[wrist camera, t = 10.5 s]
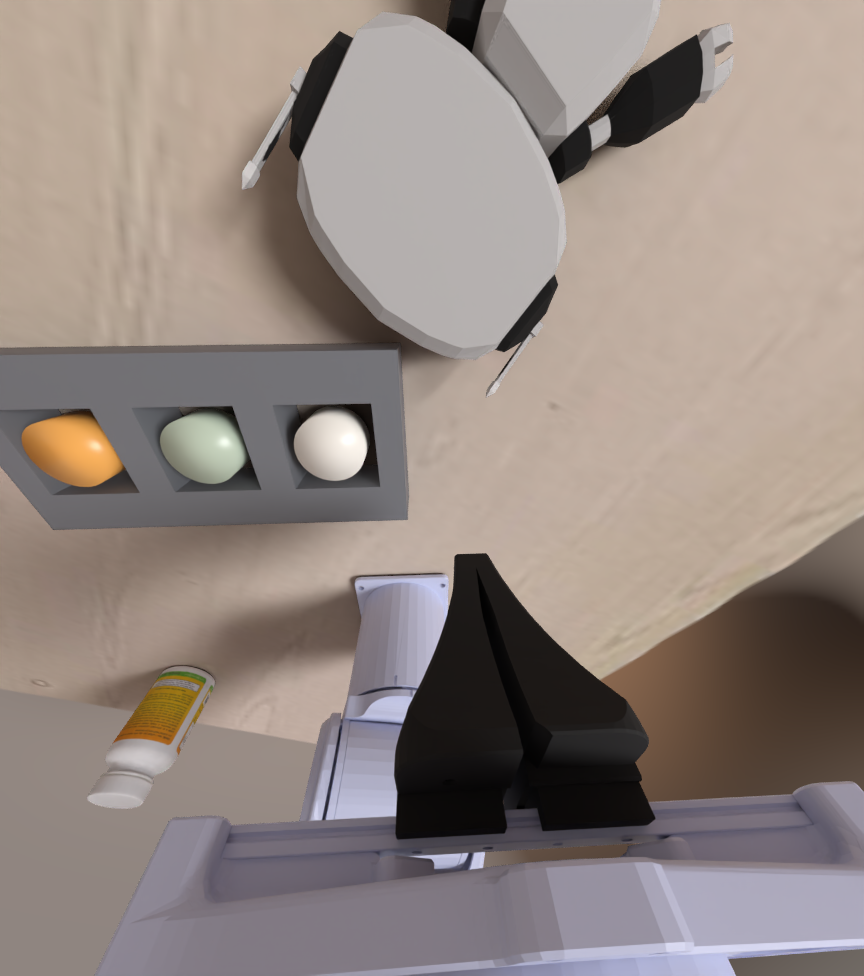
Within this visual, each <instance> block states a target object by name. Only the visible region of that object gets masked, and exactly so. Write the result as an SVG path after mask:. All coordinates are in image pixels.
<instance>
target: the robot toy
mask: <svg viewBox="0 0 864 976" xmlns="http://www.w3.org/2000/svg"><path fill="white" fill-rule="evenodd" d="M660 3H661V0H451V5H450V11H449V17H448V23H447V29H446V33H447V34H446V33H445V32H443V31H442V30H440V29H439V28H438V27H436V26H435V25H433V24H431V23H429V22H427V21H425V20H423V19H421V18H419V17H417V16H411V15H403V14H396V13H389V12H381V13H380V14H379V15H377V16H376V17H375V18H373V19H372V20H370V21H369V22H368V23H366V24H365V25H364V26H362V27H361V28H360V29H358V30H357V32H356V34H355V36H354V38H352V37H350V36H348V35H346V34H344V33H342V32H340V31H339V32H338V33H337V34H336V35H335V37H334V38H333V39H332V40H331V41H330V42H329V44H328V45H327V46H326V47H325V48H324V49H323V50H322V51H321V52H320V53H319V54H318V55H317V56H316V57H315V58H313V60H312V62H311V65H310V67H309V70H308V72H307V73H306V72H305V71H304V70H303V69H302V68H301V67H299V69H298V70H297V72H296V74H295V76H294V77H293V79H292V81H291V83H290V85H291V90H292V93H291V94H290V96H289V98H288V100H287V101H286V103H285V105H284V106H283V108H282V110H281V112H280V113H279V115H278V117H277V119H276V120H275V122H274V124H273V125H272V127H271V129H270V131H269V132H268V134H267V136H266V138H265V139H264V141H263V143H262V144H261V146H260V148H259V150H258V151H257V153H256V155H255V156H254V158H253V160H252V162H251V161H250V160H249V162H248V164H247V165H246V167H245V169H244V171H243V172H242V190H244V189H248V188H252V187H254V185H255V183H256V182H257V180H258V178H259V176H260V173H259V172H260V170H261V168H262V167H263V165H264V163H265V162H266V160H267V158H268V156H269V155H270V153H271V151H272V150H273V148H274V146H275V144H276V143H277V141H278V139H279V138H280V136H281V134H282V132H283V131H284V129H285V127H286V126H287V124H288V122H289V120H290V119H291V117H292V124H291V135H290V146H289V147H290V149H291V150H292V152H293V154H294V155H295V157H296V158H297V160H298V161H299V164H298V183H297V200H298V203H299V205H300V208H301V211H302V213H303V216H304V219H305V221H306V224H307V227H308V229H309V232H310V234H311V236H312V237H313V239H314V241H315V243H316V244H317V246H318V248H319V249H320V251H321V252H322V254H323V255H324V257H325V258H326V259H327V261H328V262H329V263H330V265H331V266H332V268H333V269H334V270H335V272H336V273H337V275H338V276H339V277H340V278H341V279H342V281H343V282H344V283H345V284H346V285H347V286H348V287H349V288H350V289H351V291H352V292H353V293H354V294H355V295H356V296H357V297H358V298H359V300H360V301H361V302H362V303H363V304H364V305H365V306H366V307H367V308H368V310H369V311H370V312H371V313H372V314H373V315H374V316H375V317H376V319H377V320H379V321H380V322H382V323H384V324H385V325H387V326H389V327H390V328H392V329H393V330H395V331H397V332H398V333H400V334H402V335H403V336H405V337H407V338H408V339H410V340H412V341H413V342H415V343H417V344H418V345H420V346H422V347H424V348H426V349H429V350H431V351H433V352H436V353H438V354H440V355H443V356H446V357H450V358H453V359H474V360H476V359H478V358H480V357H482V356H484V355H485V354H487V353H489V352H491V351H493V350H494V349H495V350H498V351H502V352H505V351H507V350H509V349H510V348H512V347H514V346H515V345H517V344H519V343H520V342H521V344H520V345H519V346H518V348H517V349H516V351H515V352H514V354H513V355H512V356H511V358H510V359H509V361H508V362H507V364H506V365H505V366H504V368H503V369H502V371H501V372H500V374H499V375H498V377H497V378H496V379H495V381H493V382H492V383H491V385H490V386H489V387H488V389H487V393H486V398H487V397H488V396H490V395H492V394H493V393H495V391H496V390H497V388H498V387H499V385H500V384H499V383H500V382H501V381H502V379H503V378H504V376H505V375H506V373H507V372H508V371H509V369H510V368H511V366H512V365H513V363H514V362H515V361H516V359H517V358H518V356H519V355H520V353H521V352H522V351H523V349H524V348H525V346H526V345H527V343H528V342H529V341H530V339H531V338H533V337H535V336H536V335H537V334H538V332H539V331H540V330H541V328H542V327H543V324H542V323H541V322H540V320H541V319H542V317H543V316H544V315H545V314H546V312H547V309H548V307H549V305H550V302H551V300H552V298H553V295H554V293H555V291H556V289H557V286H558V283H557V280H556V277H555V272H556V269H557V267H558V264H559V261H560V259H561V256H562V254H563V251H564V248H565V246H566V243H567V240H566V223H565V209H564V205H563V201H562V197H561V193H560V190H559V187H558V185H557V184H559V183H561V182H563V181H564V180H566V179H568V178H569V177H571V176H573V175H574V174H576V173H577V172H579V171H581V170H582V169H584V167H585V166H586V164H587V163H588V161H589V159H590V158H591V153H592V151H593V150H595V149H596V148H598V147H599V146H601V145H603V144H604V145H608V146H614V147H628V146H632V145H635V144H638V143H640V142H642V141H643V140H645V139H646V138H648V137H650V136H651V135H653V134H655V133H656V132H658V131H660V130H661V129H663V128H665V127H666V126H668V125H670V124H671V123H673V122H674V121H676V120H678V119H679V118H681V117H683V116H684V114H685V113H686V112H687V111H688V110H689V108H690V107H691V106H692V105H693V104H694V103H705V102H706V101H707V100H708V99H709V98H710V97H712V96H713V95H714V94H715V93H716V92H717V91H718V90H719V89H720V88H721V87H722V86H723V85H724V83H725V82H726V80H727V79H728V77H729V76H730V73H731V70H732V67H733V54H732V56H731V57H730V58H729V59H728V60H726V61H725V62H723V63H722V64H721V65H719V66H718V67H716V68H715V55H716V54H718V53H721V52H723V51H724V49H725V48H726V47H727V46H729V45H730V44H732V43H733V30H732V28H731V26H730V23H727V24H722V25H718V26H715V27H712V28H708V29H705V30H702V31H701V32H700V34H699V35H698V36H697V35H695V36H693V37H692V38H690V39H688V40H687V41H685V42H683V43H681V44H680V45H678V46H676V47H675V48H673V49H672V50H670V51H669V52H667V53H666V54H664V55H662V56H661V57H659V58H658V59H656V60H655V61H653V62H652V63H650V64H648V65H647V66H645V67H644V68H642V69H641V70H639V71H638V72H636V73H634V74H633V75H631V76H630V78H629V79H628V81H627V82H626V83H625V85H624V86H623V87H622V89H621V90H620V92H619V93H618V94H617V96H616V97H615V99H614V100H613V101H612V103H611V105H610V106H609V108H608V109H607V111H606V112H605V114H604V115H603V117H602V118H600V119H598V120H597V121H595V122H594V123H592V124H590V125H589V126H588V124H587V121H586V120H587V118H588V117H589V116H590V115H591V114H592V113H593V112H594V111H595V109H596V108H597V107H598V106H599V105H600V104H601V103H602V101H603V100H604V99H605V98H606V97H607V96H608V95H609V94H610V92H611V91H612V90H613V89H614V88H615V86H616V85H617V84H618V83H619V82H620V80H621V79H622V78H623V77H624V76H625V74H626V73H627V72H628V71H629V70H630V69H631V67H632V66H633V65H634V64H635V63H636V61H637V60H638V59H639V58H640V57H641V55H642V53H643V51H644V49H645V46H646V44H647V42H648V39H649V37H650V35H651V32H652V30H653V28H654V25H655V23H656V21H657V19H658V16H659V10H660Z"/></svg>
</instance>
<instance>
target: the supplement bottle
mask: <svg viewBox="0 0 864 976" xmlns="http://www.w3.org/2000/svg"><path fill="white" fill-rule="evenodd" d="M214 686H215V680H214V678H213V677H212V676H211V675H210V674H208V673H207V672H205V671H203V670H200V669H197V668H194V667H189V666H175V667H171V668H168V669H166V670H164V671H163V672H162V673H161V675H160V676H159V677H158V679H157V680H156V682H155V683H154V684H153V686H152V687H151V689H150V690H149V692H148V693H147V695H146V696H145V698H144V699H143V701H142V702H141V703H140V705H139V706H138V708H137V709H136V710H135V712H134V713H133V715H132V717H131V718H130V719H129V721H128V722H127V724H126V725H125V727H124V728H123V729H122V731H121V732H120V734H119V735H118V736H117V738H116V739H115V741H114V742H113V744H112V746H111V747H110V748H109V750H108V752H107V754H106V757H105V762H106V764H107V766H108V767H109V770H108V771H107V772H106V773H104V774H102V775H101V777H100V778H99V779H98V781H97V782H96V784H95V785H94V787H93V788H92V790H91V791H90V793H89V794H88V796H87V800H88V801H89V802H91V803H93V804H96V805H99V806H103V807H110V808H119V809H126V808H135V807H138V806H140V805H142V803H143V802H144V800H145V798H146V796H147V795H148V793H149V791H150V790H151V788H152V785H153V783H154V781H153V778H154V776H155V775H158V774H161V773H162V772H165V771H166V770H167V769H168V768H170V767H171V766H172V764H173V763H174V761H175V760H176V758H177V756H178V755H179V753H180V751H181V749H182V747H183V745H184V743H185V741H186V739H187V738H188V736H189V734H190V732H191V730H192V728H193V726H194V724H195V723H196V721H197V719H198V717H199V715H200V713H201V711H202V709H203V708H204V706H205V704H206V702H207V700H208V698H209V696H210V694H211V692H212V690H213V688H214Z"/></svg>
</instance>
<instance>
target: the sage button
mask: <svg viewBox="0 0 864 976" xmlns="http://www.w3.org/2000/svg"><path fill="white" fill-rule="evenodd" d="M160 445H161V449H162V452H163V454H164V456H165V458H166V459H167V461H168V462H169V463H170V464H171V465H172V466H173V467H174V468H175V469H176V470H177V471H178V472H180V473H181V474H183V475H184V476H186V477H188V478H190V479H192V480H194V481H197V482H201V483H207V484H217V483H222V482H225V481H227V480H228V479H230V478H231V477H232V476H233V475H234V474H235V473H236V472H237V471H238V470H240V469H241V468H242V467H243V466H244V465H245V464H246V463H247V462H248V461H249V460H250V459H251V458H250V456H249V453H248V450H247V447H246V444H245V441H244V438H243V435H242V433H241V430H240V427H239V424H238V421H237V418H236V417H234V416H233V415H231V414H229V413H227V412H225V411H222V410H219V409H214V408H203V409H199V410H196V411H194V412H192V413H190V414H188V415H186V416H184V417H182V418H180V419H178V420H176V421H173V422H171V423H170V424H168V425H167V426H166V427H165V428H164V429H163V431H162V433H161V437H160Z"/></svg>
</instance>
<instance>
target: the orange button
mask: <svg viewBox="0 0 864 976" xmlns="http://www.w3.org/2000/svg"><path fill="white" fill-rule="evenodd" d="M22 445H23V447H24V450H25V452H26V453H27V455H28V456H29V458H30V459H31V460H32V461H33V462H34V463H35V464H36V465H37V466H38V467H39V468H40V469H41V470H43V471H44V472H45V473H47V474H48V475H50V476H51V477H53V478H55V479H57V480H59V481H61V482H64V483H67V484H70V485H74V486H79V487H92V486H96V485H99V484H101V483H102V482H104V481H106V480H108V479H109V478H111V477H113V476H115V475H117V474H118V473H120V472H122V471H124V470H125V469H126V468H125V467H124V465H123V463H122V462H121V460H120V458H119V457H118V455H117V453H116V452H115V450H114V448H113V447H112V445H111V443H110V442H109V440H108V438H107V436H106V435H105V433H104V431H103V430H102V428H101V426H100V425H99V423H98V421H97V420H96V418H95V416H94V415H93V413H92V412H90V411H82V410H79V411H72V412H69V413H66V414H63V415H59V416H56V417H53V418H50V419H47V420H43V421H40V422H37V423H34V424H31V425H29V426H28V427H26V428H25V430H24V431H23V433H22Z"/></svg>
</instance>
